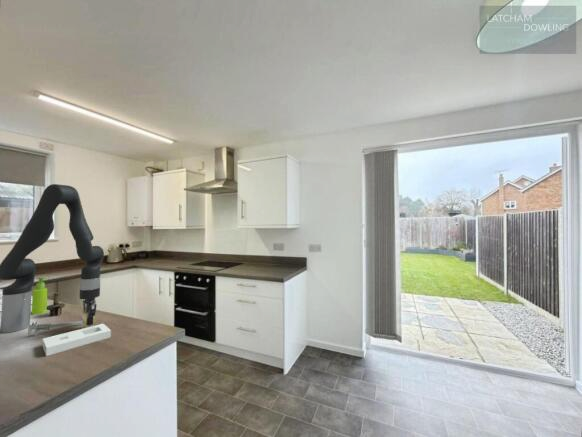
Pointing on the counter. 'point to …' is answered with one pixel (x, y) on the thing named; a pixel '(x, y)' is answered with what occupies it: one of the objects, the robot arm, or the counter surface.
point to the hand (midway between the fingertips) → (88, 323)
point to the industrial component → (55, 306)
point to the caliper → (49, 326)
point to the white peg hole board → (75, 339)
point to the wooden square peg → (84, 320)
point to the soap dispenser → (40, 297)
